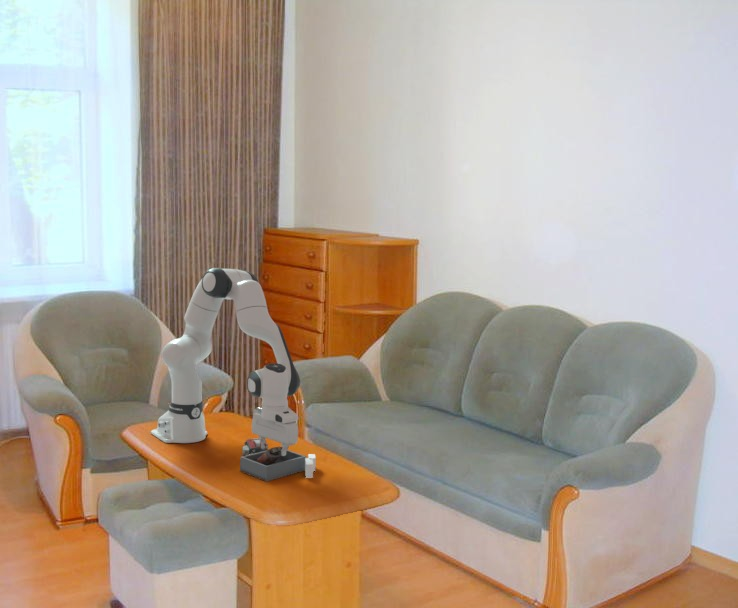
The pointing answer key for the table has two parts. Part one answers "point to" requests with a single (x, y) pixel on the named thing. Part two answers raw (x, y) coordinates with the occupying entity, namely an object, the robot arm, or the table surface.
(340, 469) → the table surface
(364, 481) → the table surface
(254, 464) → the grey tray
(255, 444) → the walkie-talkie
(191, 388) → the robot arm
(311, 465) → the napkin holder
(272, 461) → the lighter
